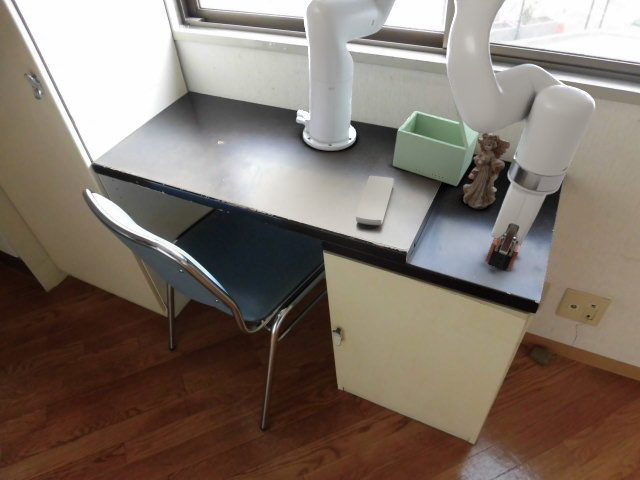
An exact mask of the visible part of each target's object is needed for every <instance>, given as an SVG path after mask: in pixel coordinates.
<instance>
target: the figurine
mask: <svg viewBox="0 0 640 480" xmlns="http://www.w3.org/2000/svg"><path fill="white" fill-rule="evenodd" d="M477 143H478V144H479V148H480V153H479V154H478V155H476V156H474V157H472V160H474V164H475V167H474V168H473V169H472V170H471V172H470V173H469V175H468V176H467V177H468V178H469V179H470V180H473V182H472V183H470V184H468V183H465V184H464V185H463V186H462V190H463V193H464V196H463V199H462V201H463V202H464V204H468V206H469V207H471V208H473V209H475V210H484V209H486V208H487V207H488V206H490V205H491V204H493V203H494V201H495V200H496V197H495V195H496V194H495V193H497V188H496V187H495V186H494V185H495V184H494V183H495V181H496V180H497V179H498V177H499V174H500V172H501V171H502V170H503V169H505V162H504V161H503V160H501V158H502V156H503V155H505V154H506V153H507V150H508V149H510V147H511V142H510V141H509V140H506V139H503V138H501V137H500V134H499V133H496V134H494V133H493V132H492V133H482V134H481V137H480V136H478V138H477Z"/></svg>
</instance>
